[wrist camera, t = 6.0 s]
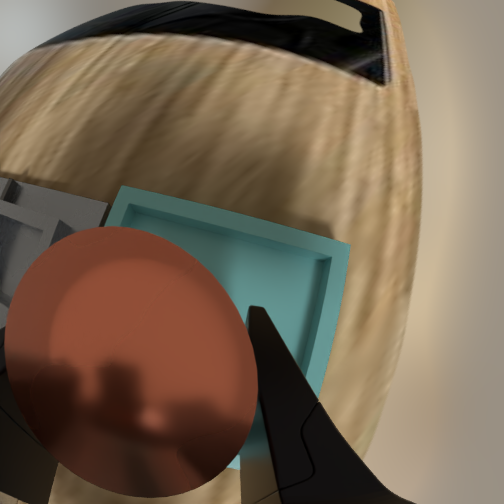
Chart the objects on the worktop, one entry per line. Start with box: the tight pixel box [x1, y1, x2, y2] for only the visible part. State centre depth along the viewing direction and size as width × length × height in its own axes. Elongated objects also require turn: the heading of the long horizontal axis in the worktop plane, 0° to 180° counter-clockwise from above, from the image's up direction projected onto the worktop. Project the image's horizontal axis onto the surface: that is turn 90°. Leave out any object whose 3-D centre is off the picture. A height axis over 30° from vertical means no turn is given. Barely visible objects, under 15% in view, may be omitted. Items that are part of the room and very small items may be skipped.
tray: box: [104, 185, 351, 470], centre depth 14 cm, size 14×14×2 cm
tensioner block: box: [0, 177, 112, 329], centre depth 14 cm, size 12×16×3 cm
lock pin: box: [5, 226, 258, 498], centre depth 8 cm, size 4×4×10 cm
